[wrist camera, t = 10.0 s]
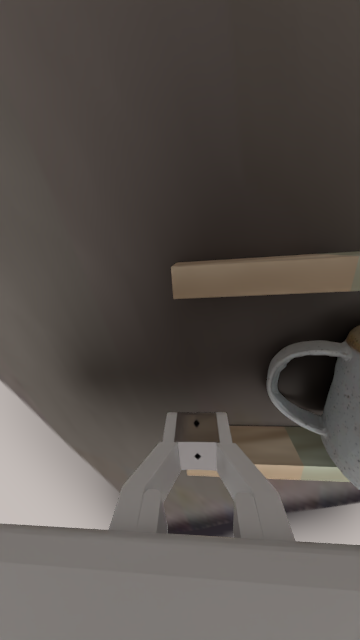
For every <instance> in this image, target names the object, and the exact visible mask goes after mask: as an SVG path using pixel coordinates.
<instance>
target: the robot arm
mask: <svg viewBox="0 0 360 640" xmlns="http://www.w3.org/2000/svg"><path fill="white" fill-rule="evenodd" d="M181 470H213V471H217V473H218V474H219V476H220V478H221V479H222V481H223V483H224V484H225V486H226V488H227V490H228V491H229V493H230V495H231V496H232V498H233V500H234V524H233V534H234V538H231V537H213V536H198V535H181V534H167V531H168V527H167V522H166V516H165V511H164V505H163V502H164V500H165V499H166V497H167V495H168V493H169V491H170V489H171V488H172V486H173V484H174V482H175V480H176V479H177V477H178V475H179V473H180V471H181ZM0 640H360V545H346V544H330V543H328V544H327V543H314V542H296V541H295V539H294V536H293V533H292V530H291V527H290V524H289V521H288V518H287V516H286V513H285V510H284V507H283V504H282V501H281V498H280V495H279V493H278V492H277V490H276V489H275V488H274V487H273V486H272V485H271V483H270V482H269V481H268V480H267V479H266V478H265V477H264V475H263V474H262V473H261V472H260V471H259V470H258V468H257V467H256V466H255V465H254V464H253V463H252V461H251V460H250V459H249V458H248V457H247V456H246V455H245V453H244V452H243V451H242V450H241V449H240V448H239V446H238V445H237V444H236V443H232V438H231V433H230V428H229V423H228V418H227V413H226V412H196V413H192V412H168V413H167V416H166V422H165V428H164V434H163V440H162V442H159V443H158V444H157V446H156V447H155V448H154V449H153V450H152V452H151V453H150V454H149V455H148V456H147V457H146V459H145V460H144V461H143V462H142V463H141V465H140V466H139V467H138V468H137V469H136V471H135V472H134V473H133V474H132V475H131V477H130V478H129V479H128V480H127V481H126V483H125V484H124V485H123V486H122V489H121V492H120V495H119V498H118V502H117V505H116V508H115V511H114V515H113V518H112V521H111V524H110V528H109V530H98V529H82V528H81V529H80V528H65V527H48V526H32V525H15V524H0Z"/></svg>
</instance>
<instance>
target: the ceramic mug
mask: <svg viewBox="0 0 360 640" xmlns="http://www.w3.org/2000/svg"><path fill="white" fill-rule="evenodd" d="M305 355H328V356H334V357H338V358H337V362H336V365H335V373H334V378H333V381H332V384H331V386H330V390H329V393H328V396H327V400H326V404H325V406H324V411H323V414H322V415H316V414H313V413H311V412H308V411H307V410H304V409H302V408H300V407H298V406H296V405H294V404H293V403H291V402H289V401H288V400H287V399H286V398H285V397H284V396H282V395H281V393H280V392H279V391H278V387H277V383H278V378H279V375H280V372H281V371H282V370H283V369H284V368H285V367H286V365H287V363H288V362H289V361H290V360H291V359H293V358H295V357H301V356H305ZM266 385H267V392H268V395H269V397H270V399H271V401H272V402H273V404H274V405H275V406H276V407H277V408H278V410H279V411H280V412H281V413H283V414H284V415H285V416H286V417H288V418H289V419H290V420H292V421H293V422H295V423H297V424H298V425H300V426H302V427H304V428H306V429H308V430H310V431H312V432H315V433H317V434H320V435H321V439H322V442H323V444H324V446H325V448H326V451H327V453H328V455H329V456H330V458H331V459H332V461H333V462H334V463H335V465H336V466H337V467H338V469H339V470H340V471H341V472H342V474H343V475H344V476H345V477H346V478H347V479H348V480H349V481H350V482H351V483H352V484H353V485H354V486H356V487H357V488H358V489H359V490H360V325H359V326H357V327H355V328H353V329H352V330H351V331H350V332H349V334H348V336H347V338H346V340H345V341H344V342H342V343H337V342H330V341H324V340H316V341H304V342H298V343H294V344H291V345H289V346H286V347H285V348H283V349H282V350H280V351H279V352H278V353H277V354H276V355H275V356H274V358H273V359H272V360H271V362H270V365H269V369H268V376H267V383H266Z"/></svg>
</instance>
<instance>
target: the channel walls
mask: <svg viewBox="0 0 360 640" xmlns="http://www.w3.org/2000/svg"><path fill="white" fill-rule="evenodd" d="M171 275H172V287H173V299H186V298H209V297H231V296H254V295H277V294H299V293H322V292H345V291H360V251H355V252H338V253H322V254H306V255H290V256H274V257H257V258H241V259H225V260H209V261H192V262H177V263H175V264H174V265H173V266H172V267H171ZM229 428H230V433H231V438H232V443H236V444H237V445H238V446H239V448H240V449H241V450H242V451H243V452H244V453H245V455H246V456H247V457H248V458H249V459H250V460H251V461H252V463H253V464H254V465H255V466H256V467H257V468H258V470H259V471H260V472H261V473H262V474H263V475H264V477H265V478H266V479H290V480H315V481H339V482H350V481H349V480H348V479H347V478H346V477H345V476H344V475H343V474H342V472H341V471H340V470H339V469H338V467H337V466H336V465H335V463H334V462H333V461H332V459H331V458H330V456H329V455H328V453H327V451H326V448H325V446H324V444H323V442H322V439H321V435H320V434H317V433H315V432H312V431H310V430H308V429H306V428H304V427H278V426H229ZM187 475H192V476H216V477H220V476H219V474H218V473H217V471H213V470H187Z"/></svg>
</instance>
